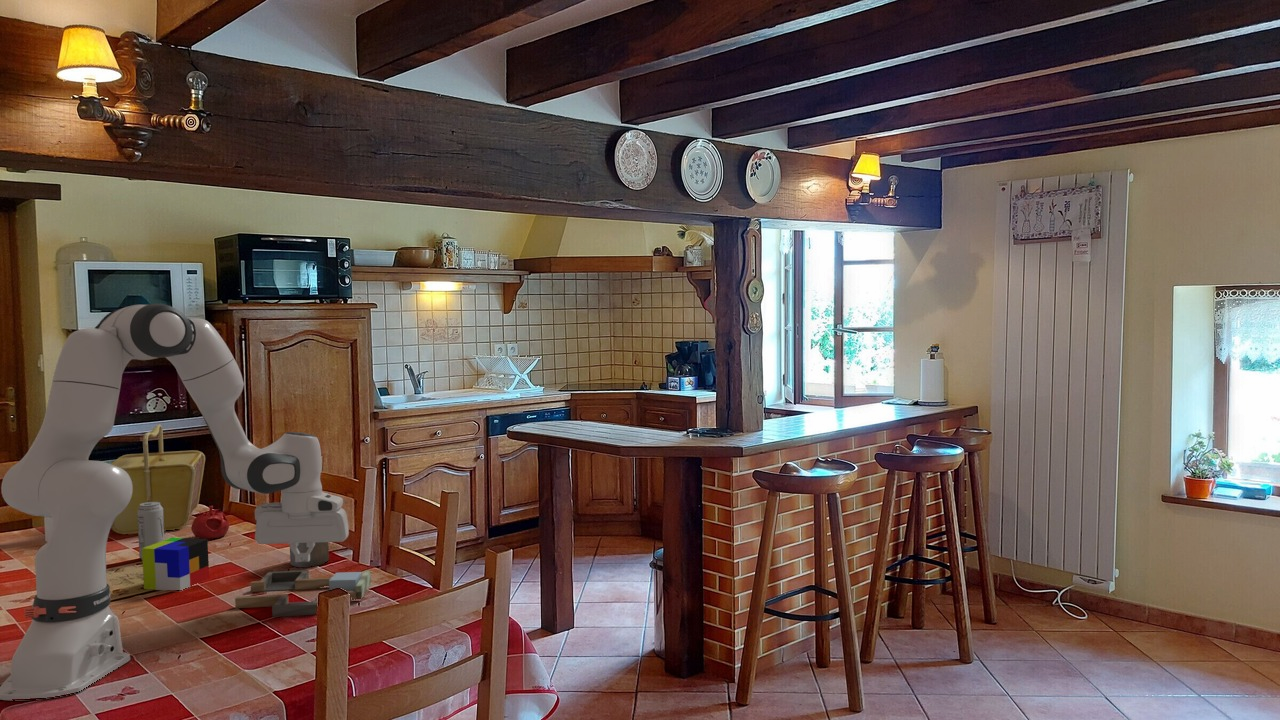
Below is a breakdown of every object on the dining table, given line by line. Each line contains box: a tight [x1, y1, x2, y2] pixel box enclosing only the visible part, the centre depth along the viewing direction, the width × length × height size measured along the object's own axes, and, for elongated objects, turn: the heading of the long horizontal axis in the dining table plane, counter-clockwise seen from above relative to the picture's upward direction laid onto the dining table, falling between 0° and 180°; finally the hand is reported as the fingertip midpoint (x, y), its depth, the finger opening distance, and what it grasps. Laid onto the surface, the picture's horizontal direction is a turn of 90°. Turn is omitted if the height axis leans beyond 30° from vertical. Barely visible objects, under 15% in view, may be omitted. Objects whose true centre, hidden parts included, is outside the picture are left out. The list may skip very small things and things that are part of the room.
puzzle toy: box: [142, 536, 210, 591], centre depth 212 cm, size 10×10×10 cm
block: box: [328, 571, 363, 591], centre depth 203 cm, size 6×6×4 cm
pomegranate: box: [191, 505, 230, 540], centre depth 256 cm, size 10×10×9 cm
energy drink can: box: [137, 502, 165, 562], centre depth 234 cm, size 6×6×15 cm
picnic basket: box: [110, 424, 206, 535], centre depth 273 cm, size 29×26×30 cm
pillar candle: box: [288, 542, 330, 568], centre depth 229 cm, size 10×10×15 cm
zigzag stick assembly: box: [234, 569, 372, 618], centre depth 202 cm, size 27×27×4 cm
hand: (302, 561), depth 201 cm, fingers closed
